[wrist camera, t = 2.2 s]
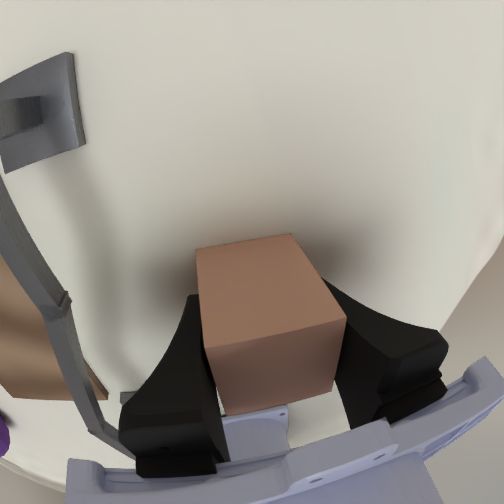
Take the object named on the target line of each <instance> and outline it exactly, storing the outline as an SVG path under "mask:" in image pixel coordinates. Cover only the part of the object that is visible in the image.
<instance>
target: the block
mask: <svg viewBox="0 0 504 504" xmlns="http://www.w3.org/2000/svg"><path fill="white" fill-rule="evenodd" d="M195 250H196V264H197V277H198V289H199V300H200V311H201V321H202V331H203V340H204V348H205V352H206V355H207V358H208V362H209V365H210V368H211V371H212V374H213V377H214V381H215V384H216V387H217V390H218V393H219V396H220V399H221V402H222V405H223V408H224V410H225V413H226V416H231V415H237V414H242V413H247V412H252V411H257V410H262V409H267V408H271V407H275V406H280V405H284V404H288V403H292V402H296V401H299V400H303V399H307V398H310V397H314V396H317V395H321V394H324V393H327V392H331V391H332V387H333V383H334V378H335V374H336V370H337V365H338V360H339V356H340V351H341V346H342V341H343V336H344V331H345V325H346V320H347V316H346V315H345V313H344V312H343V310H342V309H341V307H340V306H339V304H338V303H337V301H336V300H335V298H334V296H333V295H332V293H331V292H330V290H329V289H328V287H327V286H326V284H325V283H324V281H323V280H322V278H321V277H320V275H319V274H318V272H317V271H316V270H315V268H314V267H313V265H312V264H311V262H310V261H309V259H308V258H307V256H306V255H305V253H304V252H303V250H302V249H301V248H300V246H299V245H298V243H297V242H296V240H295V239H294V237H293V236H292V235H291V233H290V234H284V235H278V236H271V237H265V238H259V239H253V240H247V241H242V242H236V243H230V244H224V245H218V246H212V247H206V248H201V249H195Z"/></svg>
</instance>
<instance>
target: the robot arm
mask: <svg viewBox="0 0 504 504" xmlns="http://www.w3.org/2000/svg"><path fill="white" fill-rule="evenodd" d="M321 278H322V277H321ZM322 280H323V281H324V283H325V284H326V286H327V287H328V289H329V290H330V292H331V293H332V295H333V296H334V298H335V300H336V301H337V303H338V304H339V306H340V307H341V309H342V310H343V312H344V313H345V315H346V316H347V320H346V325H345V331H344V336H343V341H342V346H341V351H340V356H339V360H338V365H337V370H336V374H335V378H334V380H335V382H336V385H337V388H338V391H339V394H340V396H341V399H342V402H343V405H344V409H345V412H346V415H347V418H348V422H349V425H350V429H351V430H349V431H347V432H344V433H341V434H338V435H335V436H332V437H329V438H326V439H323V440H320V441H316V442H313V443H310V444H307V445H304V446H301V447H297V448H294V449H290V446H289V443H288V440H287V430H288V407H287V406H286V405H282V406H277V407H273V408H269V409H264V410H259V411H255V412H250V413H244V414H239V415H234V416H228V417H222V418H221V413H220V408H219V403H218V397H217V391H216V384H215V381H214V377H213V374H212V371H211V368H210V365H209V362H208V358H207V355H206V352H205V348H204V340H203V331H202V321H201V311H200V300H199V294H194V295H189V296H188V298H187V301H186V305H185V309H184V312H183V315H182V318H181V320H180V323H179V325H178V328H177V330H176V332H175V335H174V337H173V339H172V341H171V343H170V345H169V347H168V349H167V351H166V352H165V354H164V356H163V358H162V359H161V361H160V362H159V364H158V365H157V367H156V368H155V370H154V371H153V373H152V374H151V375H150V377H149V378H148V379H147V380H146V381H145V383H144V384H143V385H142V386H141V388H140V389H139V390H138V391H137V392H136V393H135V394H134V395H133V396H132V397H131V398H130V399H129V400H128V401H127V402H126V403H125V404H124V405H123V406H122V409H121V414H120V419H119V430H118V439H119V441H120V443H121V444H122V445H123V446H124V447H125V448H126V449H127V450H129V451H130V452H131V453H132V454H133V455H134V456H136V469H118V468H104V467H103V466H102V465H101V464H99V463H97V462H95V461H91V460H81V459H72V458H69V459H68V465H67V478H66V497H65V504H444V503H443V500H442V499H441V497H440V495H439V492H438V490H437V488H436V487H435V484H434V483H433V481H432V479H431V477H430V475H429V473H428V471H427V469H426V467H425V465H424V463H423V461H425V460H427V459H428V458H430V457H431V456H433V455H435V454H436V453H438V452H439V451H441V450H442V449H443V448H445V447H447V446H448V445H449V444H451V443H452V442H454V441H455V440H457V439H458V438H459V437H461V436H462V435H463V434H465V433H466V432H467V431H469V430H470V429H471V428H473V427H474V426H475V425H476V424H477V423H479V422H480V421H482V420H483V419H484V418H486V417H487V416H488V415H489V414H490V413H491V412H492V410H493V409H494V408H495V407H496V406H497V405H498V404H499V403H500V402H501V401H502V400H503V398H504V379H503V377H502V376H501V375H500V373H499V372H498V371H497V370H496V368H495V367H494V366H493V364H492V363H491V362H490V361H489V359H488V358H487V357H486V356H483V357H482V358H480V359H479V360H477V361H476V362H474V363H473V364H471V365H470V366H469V367H468V368H467V369H466V371H465V372H464V374H463V376H462V377H461V378H459V379H457V380H456V381H454V382H452V383H451V384H449V385H447V386H445V385H444V383H443V382H442V380H441V379H440V378H441V376H442V373H441V372H440V371H439V367H440V366H441V364H442V362H443V360H444V359H445V357H446V355H447V352H448V347H449V346H448V343H447V342H446V340H445V339H444V338H443V337H442V336H441V334H440V333H439V332H438V331H437V330H434V329H429V328H424V327H419V326H415V325H411V324H408V323H404V322H401V321H398V320H395V319H393V318H390V317H388V316H385V315H383V314H380V313H378V312H376V311H374V310H372V309H370V308H368V307H366V306H364V305H362V304H361V303H359V302H357V301H356V300H354V299H352V298H351V297H349V296H348V295H346V294H344V293H343V292H341V291H340V290H339V289H337V288H336V287H334V286H333V285H331V284H330V283H329V282H327V281H326V280H325V279H323V278H322Z"/></svg>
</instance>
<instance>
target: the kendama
mask: <svg viewBox="0 0 504 504" xmlns="http://www.w3.org/2000/svg"><path fill="white" fill-rule="evenodd" d="M9 445H10V436H9V429H8V427H7V426H6V424H5V422H4V420H3V419H2V417H1V416H0V457H2V456H4V455H5V453H6V452H7V451H8V449H9Z"/></svg>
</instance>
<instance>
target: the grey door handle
mask: <svg viewBox="0 0 504 504" xmlns="http://www.w3.org/2000/svg"><path fill="white" fill-rule="evenodd" d="M84 144H86V143H85V138H84V132H83V127H82V121H81V115H80V109H79V102H78V95H77V87H76V78H75V69H74V57H73V54H72V53H69V52H64V53H61V54H59V55H57V56H54V57H52V58H49V59H47V60H45V61H43V62H40V63H38V64H36V65H34V66H32V67H30V68H28V69H26V70H24V71H22V72H20V73H18V74H16V75H14V76H12V77H10V78H8V79H7V80H5V81H3V82H1V83H0V156H1V160H2V164H3V168H4V172H5V174H7V173H9V172H11V171H14V170H16V169H19V168H21V167H24V166H26V165H29V164H31V163H34V162H37V161H39V160H42V159H45V158H47V157H50V156H53V155H56V154H59V153H62V152H65V151H68V150H71V149H74V148H78V147H80V146H82V145H84ZM0 254H1V256H2V257H3V259H4V260H5V262H6V264H7V265H8V267H9V268H10V270H11V272H12V273H13V275H14V276H15V278H16V279H17V281H18V282H19V284H20V285H21V286H22V288H23V289H24V291H25V292H26V294H27V295H28V296H29V298H30V299H31V300H32V302H33V303H34V304H35V306H36V307H37V308H38V310H39V311H40V312H41V314H42V317H43V320H44V324H45V327H46V330H47V333H48V336H49V339H50V342H51V345H52V348H53V351H54V354H55V356H56V359H57V362H58V364H59V367H60V369H61V372H62V374H63V377H64V379H65V382H66V384H67V386H68V389H69V391H70V393H71V395H72V398H73V400H74V402H75V404H76V406H77V408H78V410H79V412H80V414H81V416H82V418H83V420H84V422H85V424H86V426H87V428H88V432H90V433H91V434H93V435H94V436H96V437H97V438H99V439H100V440H102V441H103V442H105V443H107V444H108V445H110V446H111V447H113V448H115V449H116V450H118V451H120V452H121V453H123V454H125V455H126V456H128V457H130V458H132V459H134V460H135V461H136V456H134V455H133V454H132V453H131V452H130V451H129V450H127V449H126V448H125V447H124V446H123V445H122V444H121V443H120V441H119V439H118V430H117V429H116V428H114V427H113V426H112V425H110V424H109V423H108V422H106V421H105V420H104V417H103V414H102V412H101V409H100V407H99V404H98V401H97V399H96V396H95V393H94V390H93V387H92V384H91V381H90V378H89V375H88V372H87V368H86V365H85V362H84V358H83V355H82V351H81V348H80V344H79V340H78V336H77V332H76V328H75V324H74V319H73V315H72V310H71V305H70V304H71V302H72V300H71V298H70V297H69V295H68V291H65V290H64V288H63V287H62V286H61V284H60V283H59V281H58V280H57V278H56V277H55V275H54V274H53V272H52V271H51V269H50V267H49V266H48V264H47V263H46V261H45V260H44V258H43V256H42V255H41V253H40V251H39V250H38V248H37V246H36V245H35V243H34V241H33V239H32V238H31V236H30V234H29V232H28V231H27V229H26V227H25V225H24V223H23V221H22V219H21V218H20V216H19V214H18V212H17V210H16V208H15V206H14V204H13V202H12V200H11V198H10V195H9V193H8V191H7V189H6V187H5V185H4V182H3V180H2V178H1V175H0ZM135 393H136V392H125V393H120V403H121V404H122V405H124V404H125V403H126V402H127V401H128V400H129V399H130V398H131V397H132V396H133V395H134V394H135Z"/></svg>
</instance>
